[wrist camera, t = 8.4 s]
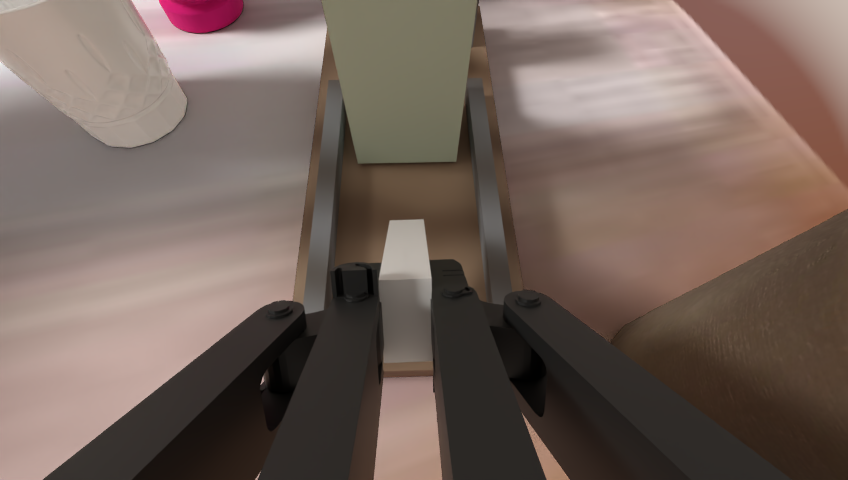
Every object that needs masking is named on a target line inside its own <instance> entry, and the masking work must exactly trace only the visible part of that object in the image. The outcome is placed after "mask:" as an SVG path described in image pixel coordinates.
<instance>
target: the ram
mask: <svg viewBox="0 0 848 480" xmlns="http://www.w3.org/2000/svg"><path fill="white" fill-rule="evenodd" d="M321 2H322V6H323V10H324V15H325V19H326V24H327V28H328V33H329V37H330V42H331V46H332V51H333V55H334V59H335V64H336V68H337V73H338V77H339V82H340V86H341V91H342V95H343V100H344V104H345V108H346V113H347V117H348V122H349V126H350V131H351V135H352V140H353V144H354V148H355V153H356V157H357V162H358V164H363V163H416V162H456V160H457V152H458V144H459V137H460V129H461V121H462V114H463V106H464V98H465V91H466V83H467V75H468V68H469V60H470V52H471V45H472V37H473V30H474V22H475V14H476V7H477V0H321Z"/></svg>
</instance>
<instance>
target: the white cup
mask: <svg viewBox="0 0 848 480" xmlns="http://www.w3.org/2000/svg"><path fill="white" fill-rule="evenodd" d="M0 62H1V63H3V64H4V65H5V66H6V67H7V68H9V69H10V70H11V71H12V72H13V73H14V74H16V75H17V76H18V77H19V78H20V79H22V80H23V81H24V82H25V83H26V84H28V85H29V86H30V87H31V88H32V89H34V90H35V91H36V92H37V93H39V94H40V95H41V96H43V97H44V98H45V99H47V100H48V101H49V102H50V103H51V104H53V105H54V106H55V107H56V108H57V109H59V110H60V111H61V112H62V113H64V114H65V115H67V116H68V117H71V118H72V119H73V120H74V121H75V122H77V123H78V124H79V125H80V126H81V127H82V128H84V129H85V130H86V131H87V132H88V133H89V134H91V135H92V136H93V137H94V138H96V139H98V140H100V141H101V142H103V143H105V144H106V145H108V146H112V147H127V148H132V147H136V146H140V145H144V144H148V143H152V142H154V141H156V140H158V139H159V138H161V137H163V136H164V135H166V134H168V133H169V132H171V131H172V130H173V129H174V128H175V127H176V126H177V124H178V123H179V122H180V121H181V119H182V118H183V117H184V116H185V111H186V106H187V98H186V96H185V94H184V92H183V90H182V89H181V87H180V85H179V84H178V82H177V80H176V79H175V77H174V76H173V74H172V72H171V70H170V68H169V66H168V62H167V60H166V58H165V57H164V55H163V54H162V52H161V50H160V48H159V46H158V44H157V42H156V40H155V39H154V37H153V35H152V34H151V32H150V30H149V29H148V27H147V26H146V24H145V22H144V21H143V19H142V17H141V16H140V14H139V12H138V11H137V9H136V7H135V6H134V4H133V2H132V0H0Z"/></svg>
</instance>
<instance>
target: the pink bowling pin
mask: <svg viewBox="0 0 848 480" xmlns="http://www.w3.org/2000/svg"><path fill="white" fill-rule="evenodd" d="M159 2H160V4H161V6H162V8H163V9H164V11H165V13H166V14H167V16H168V18H169V20H170V21H171V23H172V24H173V25H174V26H176V27H177V28H179V29H181V30H184V31H187V32H192V33H206V32H212V31H216V30H219V29H221V28H224V27H226V26H228V25H230V24H231V23H233V22H234V21H235V20H236V19H237V18H238V17H239V16H240V14H241V12H242V10H243V0H159Z"/></svg>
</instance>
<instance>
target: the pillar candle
mask: <svg viewBox="0 0 848 480" xmlns="http://www.w3.org/2000/svg"><path fill="white" fill-rule="evenodd" d="M611 344H612V345H613V346H615V347H616V348H617V349H619V350H620V351H621V352H623V353H624V354H625V355H627V356H628V357H629V358H631V359H632V360H633V361H635V362H636V363H637V364H639V365H640V366H641V367H643V368H644V369H645V370H647V371H648V372H649V373H651V374H652V375H653V376H655V377H656V378H657V379H659V380H660V381H661V382H663V383H664V384H665V385H667V386H668V387H669V388H671V389H672V390H673V391H675V392H676V393H677V394H679V395H680V396H681V397H683V398H684V399H685V400H687V401H688V402H689V403H691V404H692V405H693V406H695V407H696V408H697V409H699V410H700V411H701V412H703V413H704V414H705V415H707V416H708V417H709V418H711V419H712V420H713V421H715V422H716V423H717V424H719V425H720V426H721V427H723V428H724V429H725V430H727V431H728V432H729V433H731V434H732V435H733V436H735V437H736V438H737V439H739V440H740V441H741V442H743V443H744V444H745V445H747V446H748V447H749V448H751V449H752V450H753V451H754V452H756V453H757V454H758V455H760V456H761V457H762V458H764V459H765V460H766V461H768V462H769V463H770V464H772V465H773V466H774V467H776V468H777V469H778V470H780V471H781V472H782V473H784V474H785V475H786V476H788V477H789V478H790V479H792V480H848V209H847V210H845V211H843V212H841V213H839V214H837V215H835V216H833V217H832V218H830V219H828V220H827V221H825V222H823V223H821V224H819V225H817V226H815V227H813V228H811V229H810V230H808V231H806V232H804V233H802V234H800V235H798V236H796V237H794V238H792V239H790V240H788V241H786V242H784V243H782V244H780V245H779V246H777V247H775V248H773V249H771V250H769V251H767V252H765V253H763V254H761V255H759V256H757V257H755V258H754V259H752V260H749V261H747V262H746V263H744V264H742V265H740V266H738V267H736V268H734V269H732V270H730V271H728V272H726V273H724V274H722V275H720V276H719V277H717V278H715V279H713V280H711V281H709V282H707V283H705V284H703V285H701V286H699V287H698V288H695V289H693V290H692V291H689V292H687V293H685V294H683V295H682V296H680V297H678V298H676V299H674V300H672V301H670V302H668V303H666V304H664V305H662V306H660V307H658V308H656V309H654V310H652V311H651V312H649V313H647V314H646V315H644V316H642V317H639V318H637V319H636V320H634V321H632V322H631V323H629V324H626V325H625V326H624V327H623V328H622V329H621V330H620V332H619V333H618V334H617V335H616V336H615V337H614V338H613V340H612V342H611Z"/></svg>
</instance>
